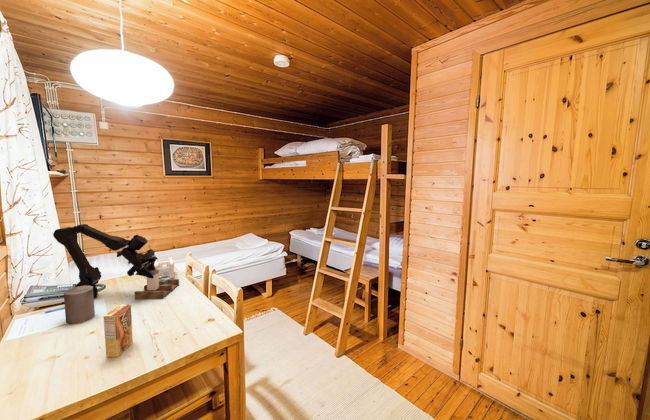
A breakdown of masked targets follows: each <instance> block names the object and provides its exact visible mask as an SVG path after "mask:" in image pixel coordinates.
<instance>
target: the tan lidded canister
mask: <svg viewBox="0 0 650 420" xmlns="http://www.w3.org/2000/svg"><path fill="white" fill-rule="evenodd" d="M149 272H150V273H151V274H152V275H153V276H154V277H153V278H148V277H146V285H147V291H151V290H157V289H158V288H159V279H160V278H159V270H150V271H149Z"/></svg>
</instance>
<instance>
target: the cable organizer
mask: <svg viewBox="0 0 650 420" xmlns="http://www.w3.org/2000/svg"><path fill="white" fill-rule="evenodd" d="M154 266H155V269H156V270H159V279H163V277H164V276H166V277H170V278H169V279H172V278H173V279H175V267H174V266H175V261H174V258H173V257H172V256H171V257H168V260H164V261H159V260H158V259H157V260H156V261H155V263H154Z"/></svg>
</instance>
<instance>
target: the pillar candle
mask: <svg viewBox="0 0 650 420" xmlns="http://www.w3.org/2000/svg"><path fill="white" fill-rule="evenodd" d="M63 299H64V314H65V323H66V324H67V325H78V324H82V323H85V322H88V321H90V320H92V319H93V318H94V317H95V315H96V314H95V313H96V312H95V300H94V299H95V298H94V296H93V286H79V287H75V286H74V287H72V288H71V287H70V288H68V289H66V290H65V291H63Z"/></svg>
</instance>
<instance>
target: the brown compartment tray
mask: <svg viewBox="0 0 650 420" xmlns="http://www.w3.org/2000/svg"><path fill="white" fill-rule="evenodd" d="M177 286H178V287H179V286H180V279H178V278H177V279H176V278H173V279H172V278H169V279H167V278H166V279H164V278H159V288H158V289H157V290H151V291H147V284H145V285H144V286H143V290H138V291H137V290H136V291H134V300H164V299H165V298H166V297H167V296H168V295H169V293H170V292H171V293H172V292H174V290H175V288H176V287H177ZM178 287H177V288H178ZM177 288H176V289H177ZM171 293H170V294H171ZM164 297H165V298H164Z"/></svg>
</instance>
